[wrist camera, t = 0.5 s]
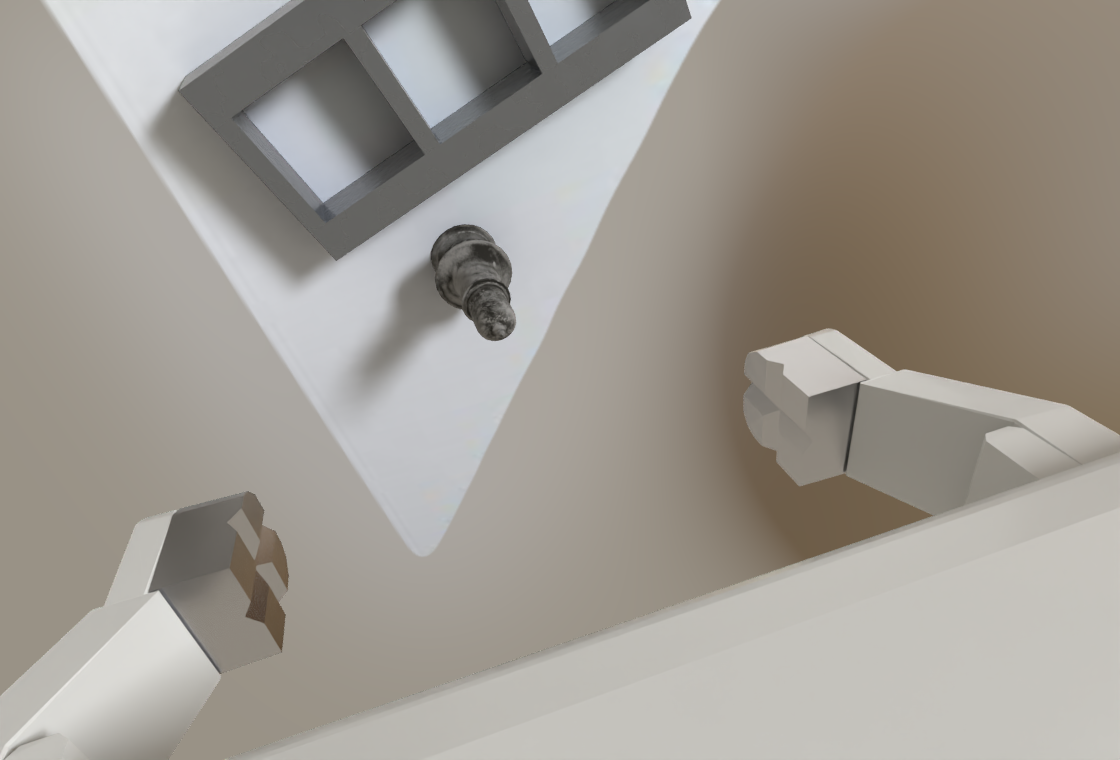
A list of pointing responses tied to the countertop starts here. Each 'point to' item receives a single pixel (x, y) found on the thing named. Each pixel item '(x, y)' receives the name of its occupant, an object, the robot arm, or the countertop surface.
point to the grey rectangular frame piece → (409, 101)
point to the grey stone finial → (475, 279)
